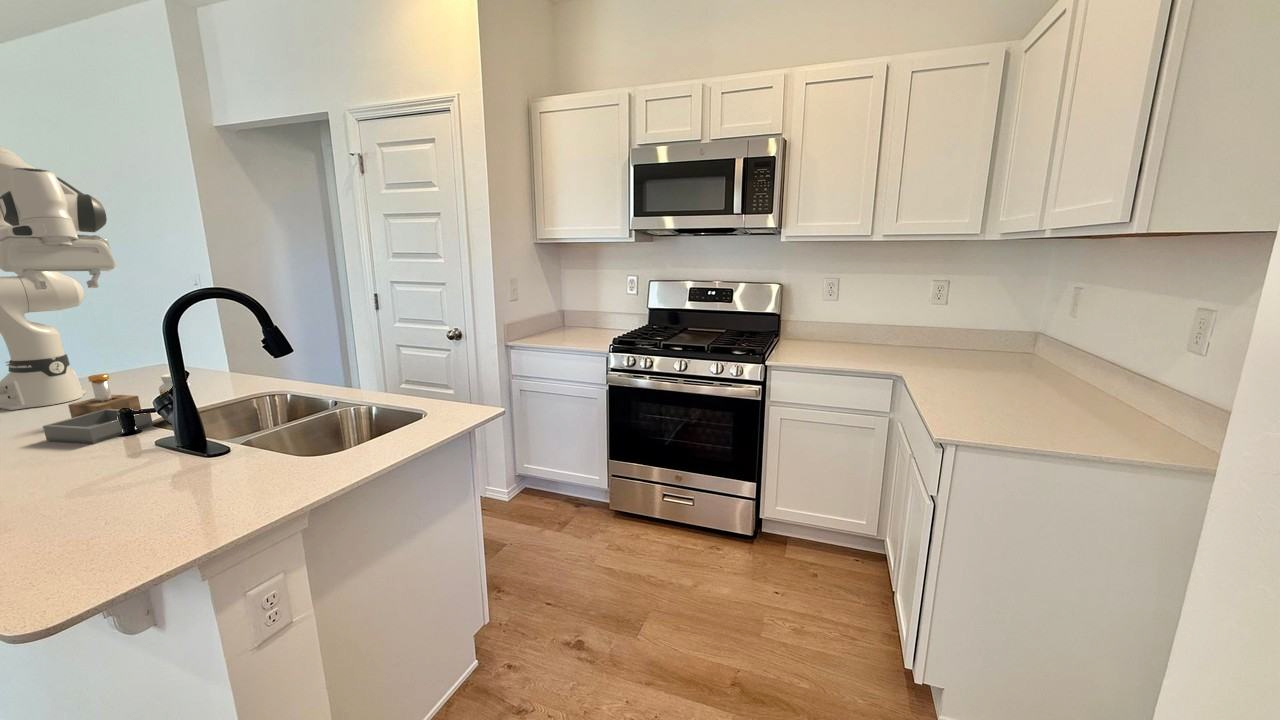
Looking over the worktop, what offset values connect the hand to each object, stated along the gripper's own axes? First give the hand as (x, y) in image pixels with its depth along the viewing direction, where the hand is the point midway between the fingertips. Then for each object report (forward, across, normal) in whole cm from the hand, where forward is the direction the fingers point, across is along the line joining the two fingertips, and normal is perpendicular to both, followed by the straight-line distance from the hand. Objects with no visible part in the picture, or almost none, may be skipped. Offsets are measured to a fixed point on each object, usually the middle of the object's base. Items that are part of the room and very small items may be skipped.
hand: (68, 288), depth 130 cm
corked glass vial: (+33, -7, -20) cm, 40 cm away
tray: (+37, 0, -5) cm, 38 cm away
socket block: (+33, -7, -20) cm, 40 cm away
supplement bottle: (+38, -15, 0) cm, 41 cm away
